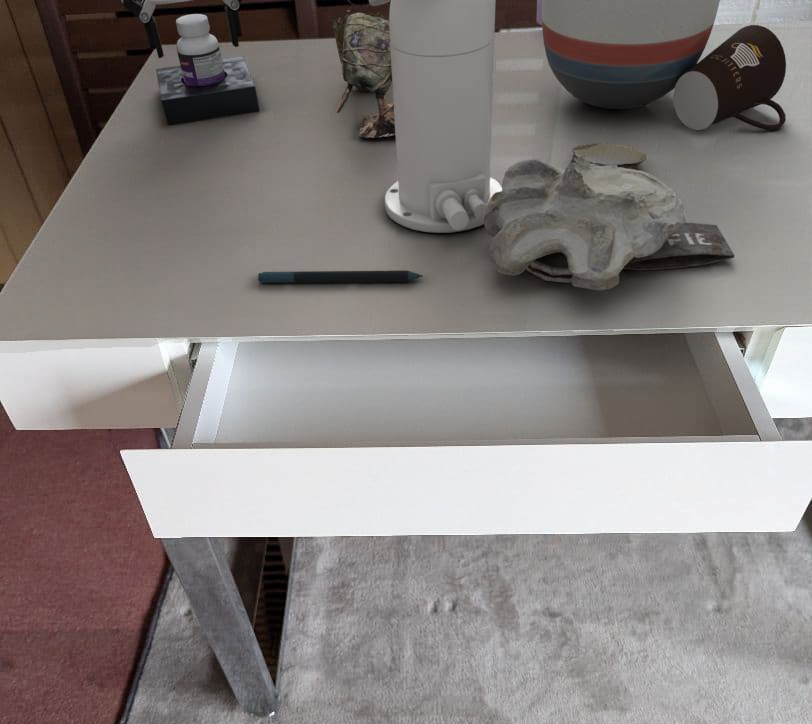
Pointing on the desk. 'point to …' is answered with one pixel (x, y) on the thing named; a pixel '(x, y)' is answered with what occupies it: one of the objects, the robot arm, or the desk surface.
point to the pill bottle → (198, 51)
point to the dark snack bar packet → (663, 253)
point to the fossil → (580, 218)
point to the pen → (337, 276)
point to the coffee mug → (733, 80)
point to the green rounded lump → (340, 36)
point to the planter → (624, 46)
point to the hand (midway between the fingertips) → (198, 49)
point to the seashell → (610, 154)
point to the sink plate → (207, 94)
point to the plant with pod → (369, 69)
